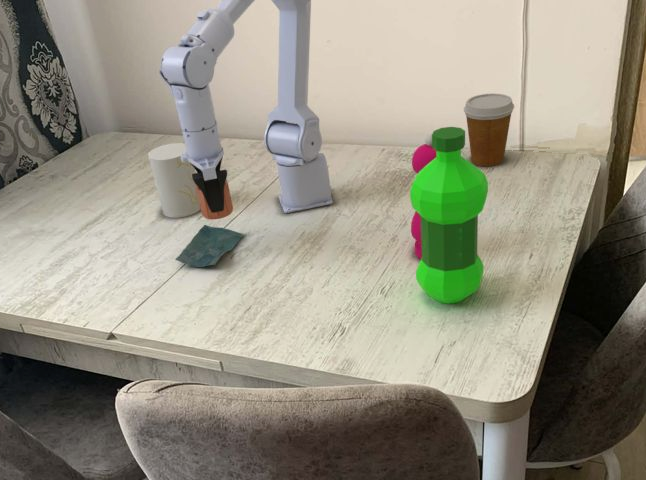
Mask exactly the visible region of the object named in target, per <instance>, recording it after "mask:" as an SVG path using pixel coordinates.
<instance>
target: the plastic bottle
mask: <svg viewBox="0 0 646 480" xmlns="http://www.w3.org/2000/svg"><path fill="white" fill-rule="evenodd" d="M431 134H432V148H433V149H434V150H436V155H437V157H436V158H435V159H433V160H432V161H431V162H430V163H428V164H427V165H426V166H425V167H424V168H423V169H422V170H421V171H419V172H418V174H417V173H416V176H415V178H414V180H413V182H412V184H411V188H410V191H409V192H410V203H411V206H412V208H413V210H414V211H417V212H418V213H419V214H420V215H421V241H422V259H420V261H419V264H418V266H417V267H416V271H415V279H416V281H417V283H418V285H419V286H420V288H421V289H422V290H423V291H424V292H425V294H426V295H427V296H429V297H430V298H432V299H434V300H435V301H436V302H439V303H442V304H459V303H460V302H462V301H464V300H465V299H467V298H468V297H469V296H471V295H472V294H474V293H475V292H476V291H478V289H479V287H480V285H481V282H482V279H483V277H484V271H485V270H484V269H485V268H484V267H485V266H484V263H483V261H482V259H481V258H480V256H479V254H478V239H479V238H478V237H479V234H478V233H479V232H478V231H479V215H480V213H482V211H483V210H484V207H485V203H486V200H487V197H488V193H489V182H488V179H487V176H486V174H485V173H484V172H483V171H481V170H480V169H479V168H478V167H476V165H475V164H474V163H472V162H470V161H469V160H467V159H466V158H465V157H463V156H462V149H464V148H465V146H466V130H464V129H463V128H462V127H456V126H447V127H446V126H445V127H440V128H438V129H435V130H433V132H432V133H431Z"/></svg>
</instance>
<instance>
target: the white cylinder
mask: <svg viewBox="0 0 646 480" xmlns="http://www.w3.org/2000/svg"><path fill="white" fill-rule="evenodd" d="M185 153H187V151H186V146H185V143H181V142H175V143H168V144H167V143H166V144H163V145H160V146H158V147H155V148H153V149H151V150H150V151H149V152H148V153H147V157H148V161H149V164H150V168H151V169H150V170H151V172H152V176H153V180H154V184H155V188H156V191H157V195H158V199H159V203H160V206H161V210H162V213H163V216H165V217H168V218H171V219H179V218H185V217H189V216H192V215H195V214H196V213H198V212H199V211H201V208H200V204H199V199H198V195H197V191H196V184H195V183H194V181H193V178H192V174H194V173H197V171H196V170H195V168H194V167H193V166H192V165H191V163H190V162H188V161H187V162H182V161H181V154H185Z"/></svg>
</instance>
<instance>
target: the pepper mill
mask: <svg viewBox="0 0 646 480" xmlns="http://www.w3.org/2000/svg"><path fill="white" fill-rule="evenodd" d="M432 134H433V133H430V134H428V135H426V137H425V140H424V142H425V143H424V144H422V145H420V146H418V147H417V148H416V149H415V150H414V152H413V155H412V156H411V157H412V158H411V166H412V170H413V172H415V174H416V175H417V174H418V172H419V171H421V170H422V169H423V168H424V167H425V166H426V165H427V164H428V163H430V162H431V161H432V160H433V159H435V158H436V157H437V155H436V150H434V149H433V148H432ZM410 223H411V224H410V233H411V236H412V238H413V239H414V241H415V242H414V254H415V256H416V257H417V258H418V259H420V260H421V259H422V241H421V215H420V214H419V213H418V212H417V211H416V210H414V214H413V216H412V220H411V222H410Z"/></svg>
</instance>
